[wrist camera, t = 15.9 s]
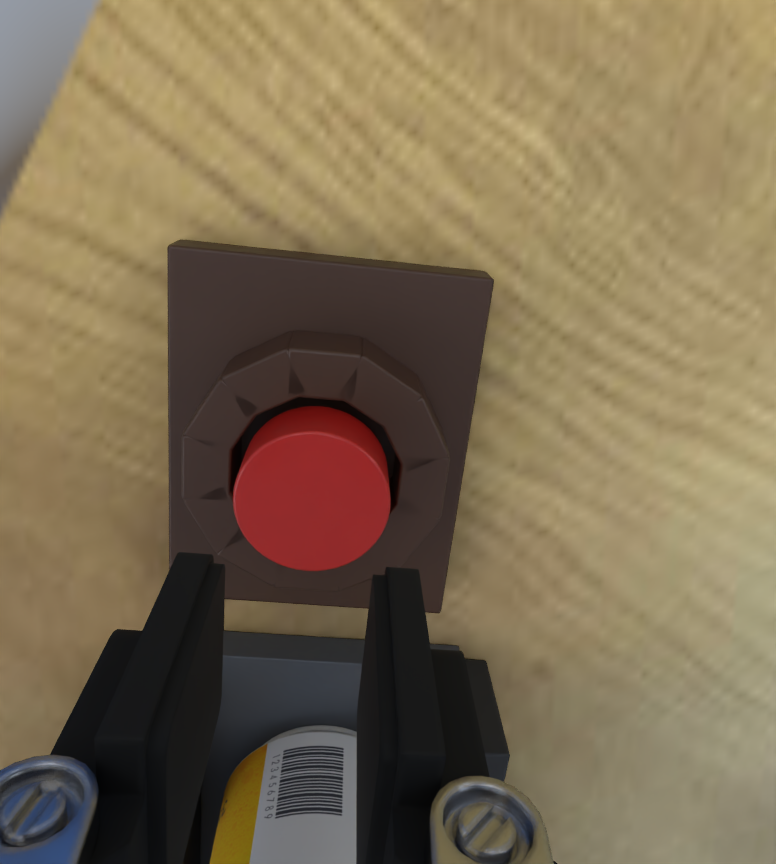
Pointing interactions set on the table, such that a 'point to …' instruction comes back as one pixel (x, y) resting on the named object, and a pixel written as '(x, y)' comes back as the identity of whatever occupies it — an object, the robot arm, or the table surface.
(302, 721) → the dark grey cradle
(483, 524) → the table surface
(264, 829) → the beer can
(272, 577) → the button block
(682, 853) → the table surface
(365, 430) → the button
